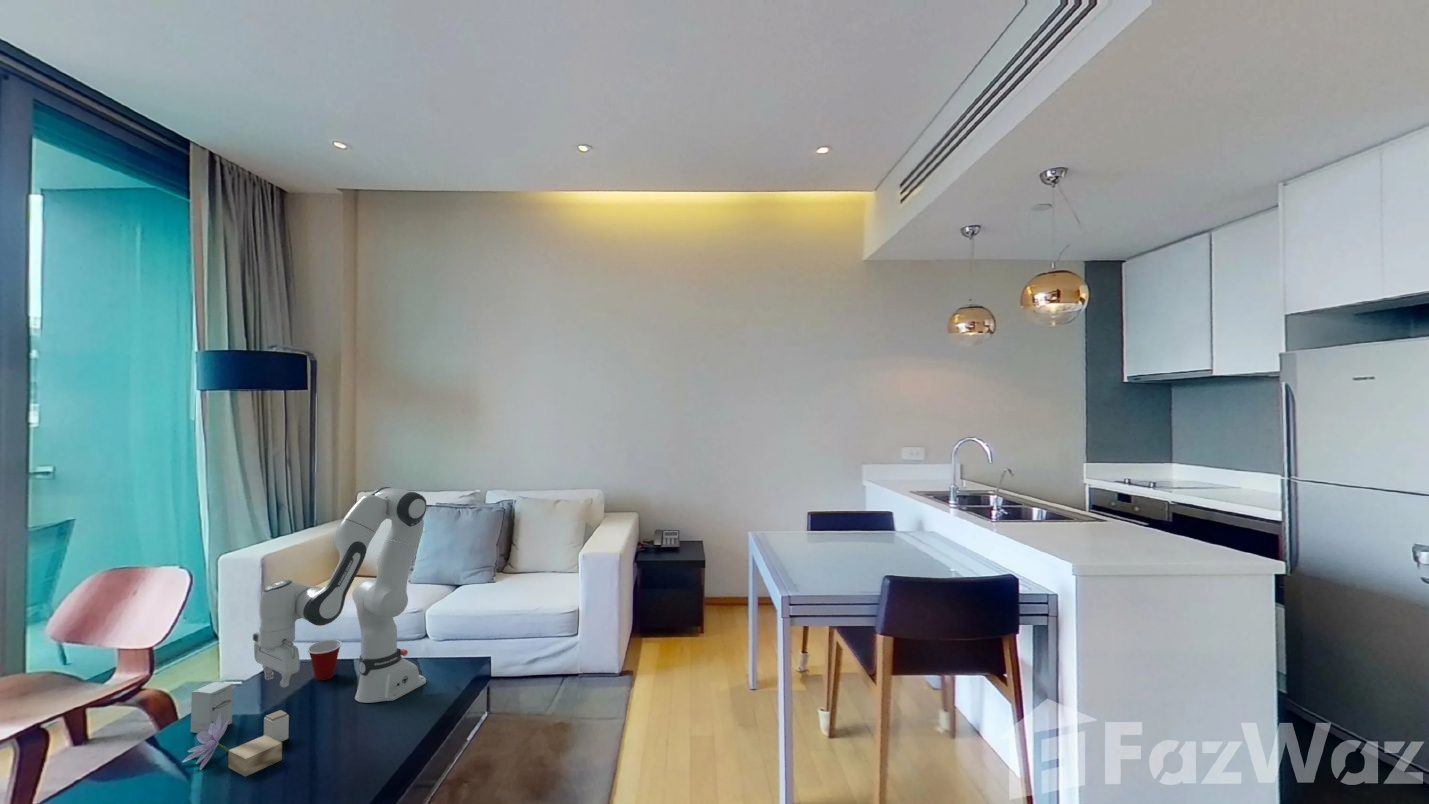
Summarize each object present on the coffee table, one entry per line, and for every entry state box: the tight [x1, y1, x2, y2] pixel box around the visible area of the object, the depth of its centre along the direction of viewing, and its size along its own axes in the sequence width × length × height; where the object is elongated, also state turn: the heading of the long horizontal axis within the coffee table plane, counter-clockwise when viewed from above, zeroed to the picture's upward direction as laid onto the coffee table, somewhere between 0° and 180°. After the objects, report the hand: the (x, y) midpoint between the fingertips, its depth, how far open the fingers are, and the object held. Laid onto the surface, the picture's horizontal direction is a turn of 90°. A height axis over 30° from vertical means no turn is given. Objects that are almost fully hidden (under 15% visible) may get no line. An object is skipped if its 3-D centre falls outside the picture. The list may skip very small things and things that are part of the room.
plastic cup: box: [307, 639, 343, 681], centre depth 226 cm, size 11×11×12 cm
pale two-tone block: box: [263, 709, 290, 743], centre depth 183 cm, size 5×5×8 cm
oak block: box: [227, 734, 283, 777], centre depth 171 cm, size 9×9×5 cm
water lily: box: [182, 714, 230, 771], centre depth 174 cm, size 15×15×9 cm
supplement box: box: [190, 681, 234, 734], centre depth 190 cm, size 7×7×13 cm
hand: (276, 682), depth 183 cm, fingers open, 8 cm apart
